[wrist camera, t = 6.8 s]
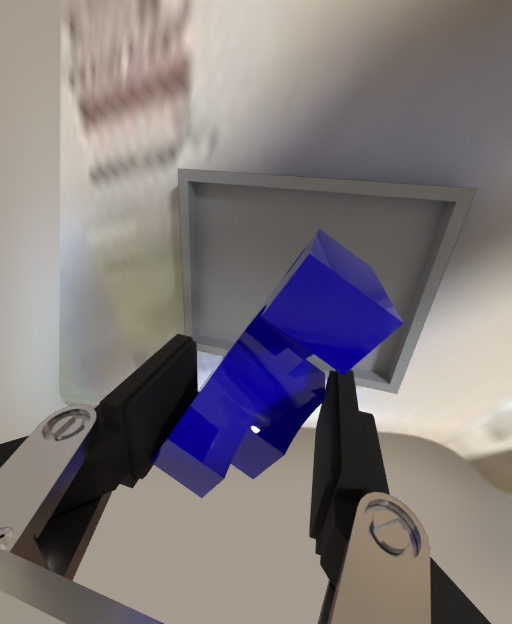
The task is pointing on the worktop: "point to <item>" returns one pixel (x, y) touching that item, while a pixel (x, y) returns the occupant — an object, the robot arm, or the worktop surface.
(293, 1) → the worktop surface
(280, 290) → the cable holder
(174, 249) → the worktop surface
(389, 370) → the tray
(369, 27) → the worktop surface
